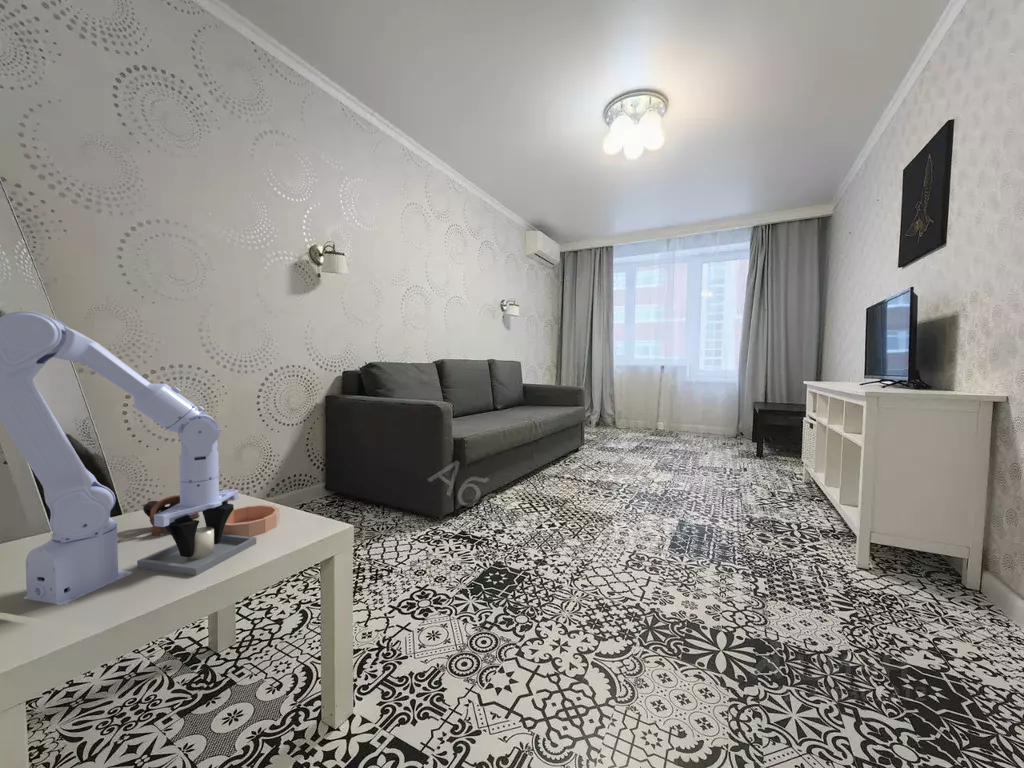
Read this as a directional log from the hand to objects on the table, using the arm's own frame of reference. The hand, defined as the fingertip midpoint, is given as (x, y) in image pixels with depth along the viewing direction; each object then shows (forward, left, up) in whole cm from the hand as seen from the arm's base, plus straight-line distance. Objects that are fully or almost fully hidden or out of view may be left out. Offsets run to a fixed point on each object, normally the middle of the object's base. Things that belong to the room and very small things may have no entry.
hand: (200, 549), depth 74 cm
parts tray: (0, 0, -2) cm, 2 cm away
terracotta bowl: (+12, +2, -2) cm, 13 cm away
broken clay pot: (+10, +19, -2) cm, 21 cm away
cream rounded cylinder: (0, 0, -1) cm, 1 cm away
